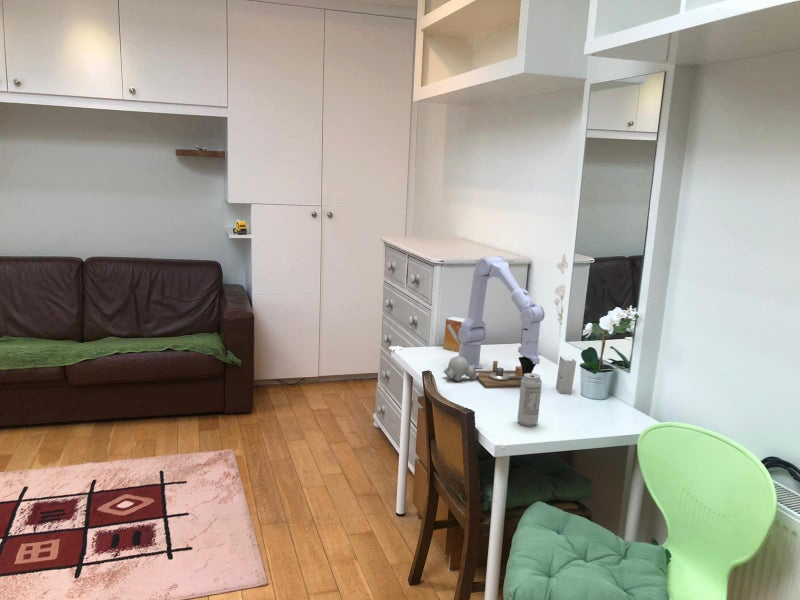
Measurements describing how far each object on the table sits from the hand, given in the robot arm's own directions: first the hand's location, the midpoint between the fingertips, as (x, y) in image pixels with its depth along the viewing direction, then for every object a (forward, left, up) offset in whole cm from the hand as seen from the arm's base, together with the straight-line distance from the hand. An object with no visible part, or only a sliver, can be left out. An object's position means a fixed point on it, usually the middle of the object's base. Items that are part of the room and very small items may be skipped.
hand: (526, 377), depth 236 cm
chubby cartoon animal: (-9, -21, -4) cm, 23 cm away
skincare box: (+4, +12, -4) cm, 14 cm away
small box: (-49, -12, -4) cm, 50 cm away
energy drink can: (+32, -13, -4) cm, 35 cm away
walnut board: (-8, -7, -3) cm, 10 cm away
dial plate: (-7, -5, -2) cm, 8 cm away
